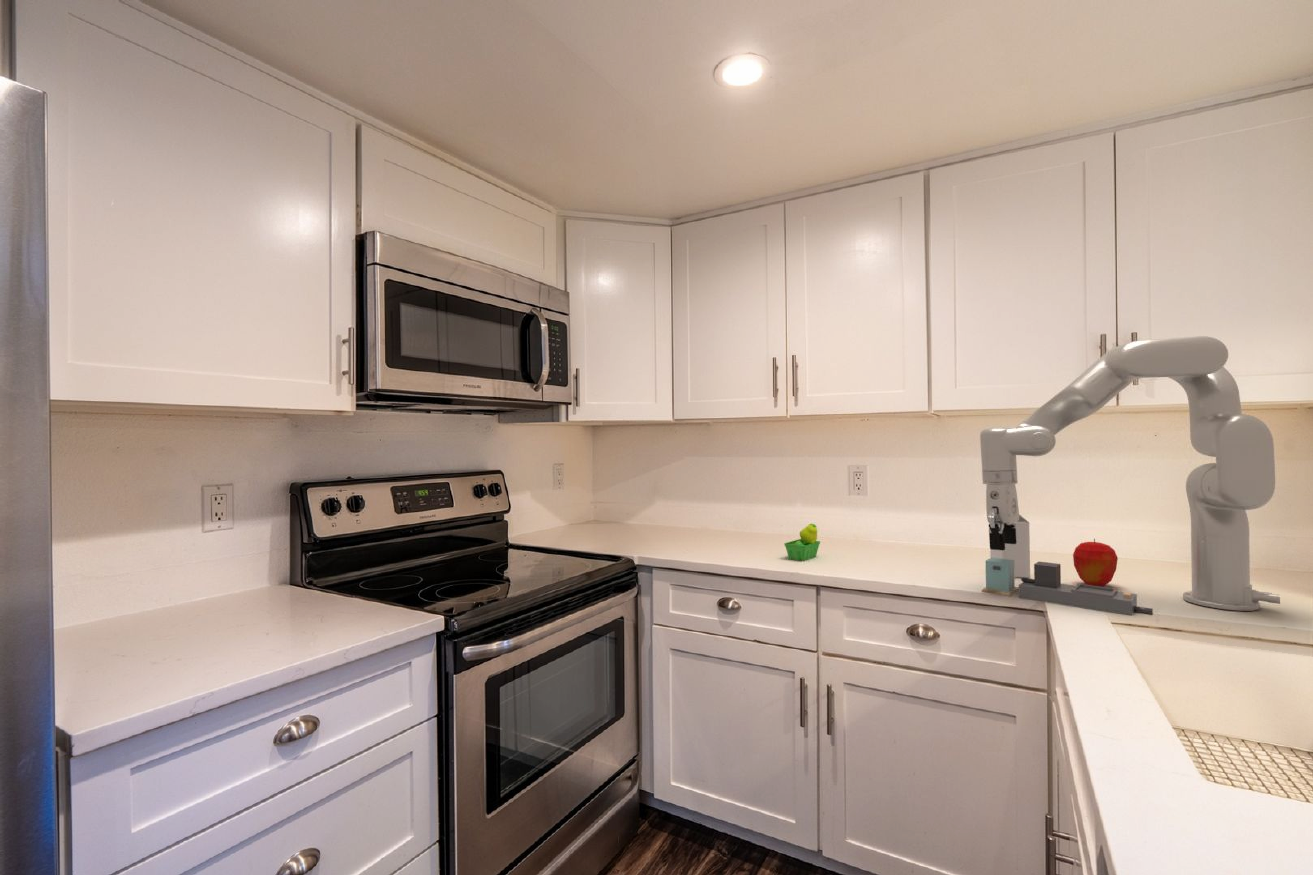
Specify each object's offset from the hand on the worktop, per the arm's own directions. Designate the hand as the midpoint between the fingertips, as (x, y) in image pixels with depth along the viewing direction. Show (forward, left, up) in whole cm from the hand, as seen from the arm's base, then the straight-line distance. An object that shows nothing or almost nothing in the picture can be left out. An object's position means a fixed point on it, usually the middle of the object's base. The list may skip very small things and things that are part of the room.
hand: (1003, 546), depth 146 cm
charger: (+1, +1, -10) cm, 10 cm away
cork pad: (+1, 0, -11) cm, 11 cm away
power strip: (-16, 0, -11) cm, 19 cm away
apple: (-15, -21, -11) cm, 28 cm away
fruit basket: (+58, -3, -11) cm, 59 cm away
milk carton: (+4, -20, -11) cm, 23 cm away
